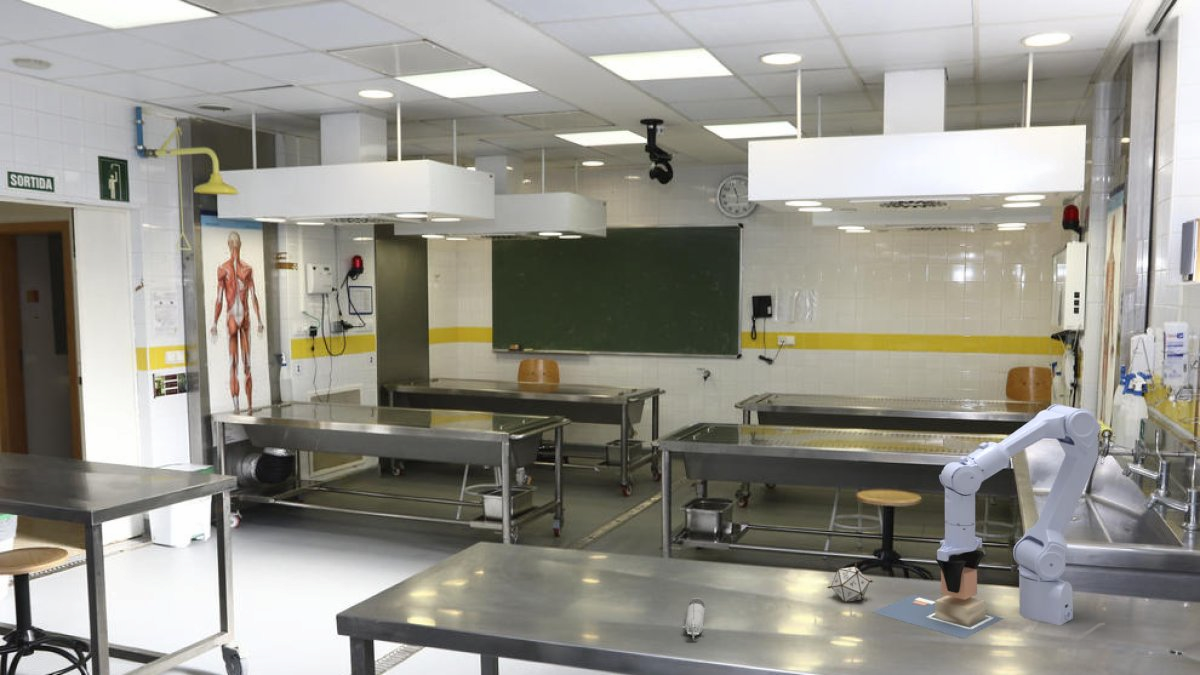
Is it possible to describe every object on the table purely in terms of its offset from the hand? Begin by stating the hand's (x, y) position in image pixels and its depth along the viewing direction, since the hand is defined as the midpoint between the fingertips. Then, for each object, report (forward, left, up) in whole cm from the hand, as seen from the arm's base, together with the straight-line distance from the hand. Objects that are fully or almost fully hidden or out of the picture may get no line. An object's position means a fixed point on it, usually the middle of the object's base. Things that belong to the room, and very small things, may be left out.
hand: (960, 588), depth 184 cm
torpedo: (+35, +41, -7) cm, 55 cm away
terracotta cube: (0, 0, -1) cm, 1 cm away
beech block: (0, 0, -6) cm, 6 cm away
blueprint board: (+4, +2, -7) cm, 8 cm away
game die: (+22, +6, -7) cm, 24 cm away
